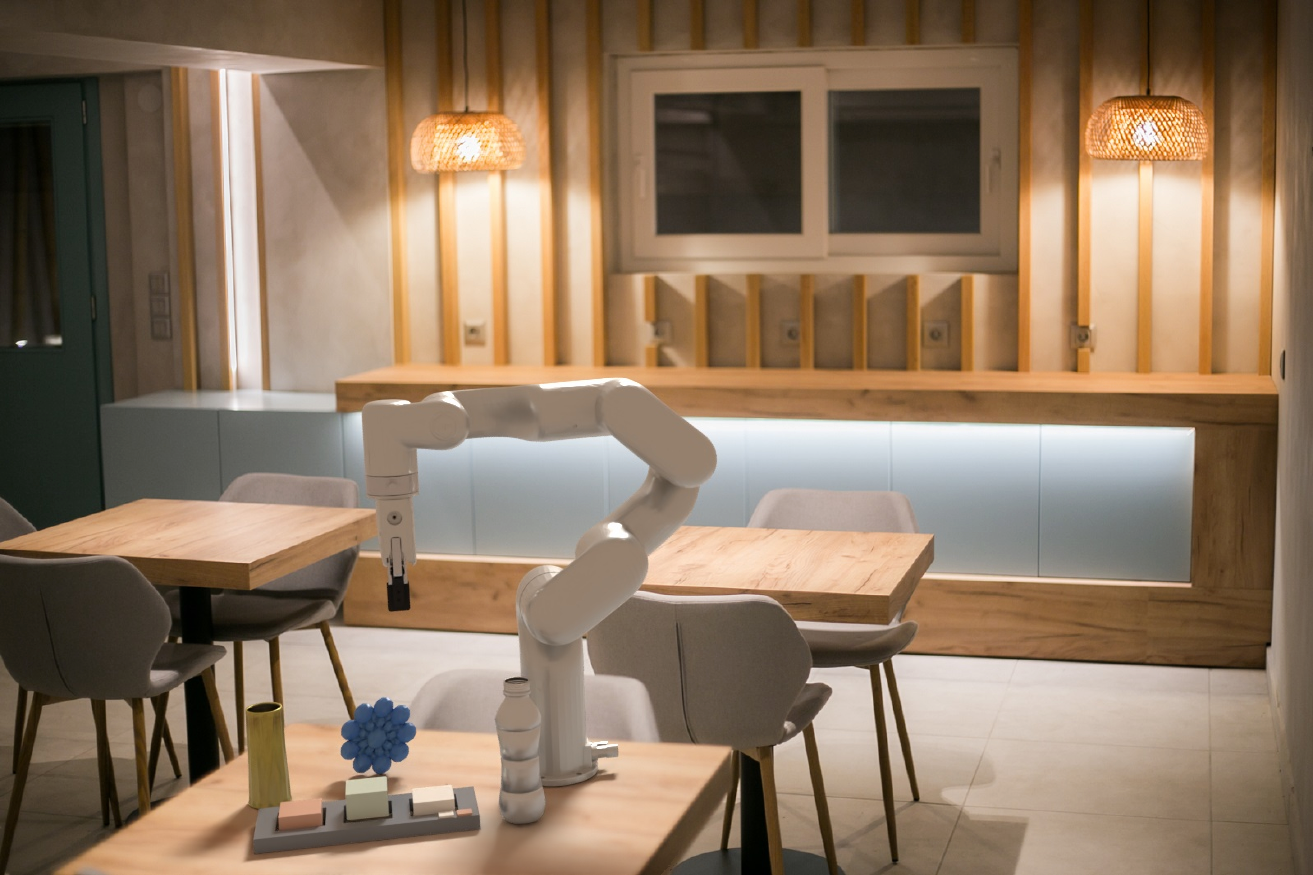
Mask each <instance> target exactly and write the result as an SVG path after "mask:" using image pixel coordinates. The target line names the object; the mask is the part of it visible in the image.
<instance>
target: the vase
mask: <svg viewBox="0 0 1313 875" xmlns="http://www.w3.org/2000/svg"><path fill="white" fill-rule="evenodd" d="M283 709H284V708H283V705H282V703H280V702H275V701H263V702H258V703H253V704H250V705H248V706H247V707H245V729H246V746H247V763H248V765H247V767H248V770H247V773H248V774H247V776H248V805H249V806H250V808H252V809H257V810H259V809H261V808H270V807H280V803H281V802H288V801H293V800H292V799H293V796H292V791H291V783H290V773H289V765H288V758H287V757H288V756H287V755H288V754H287V748H286V738H285V736H286V735H285V726H284V725H285V724H284V721H285V720H284V710H283Z"/></svg>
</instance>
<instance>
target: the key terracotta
mask: <svg viewBox="0 0 1313 875" xmlns="http://www.w3.org/2000/svg"><path fill="white" fill-rule="evenodd" d="M322 802H323V798H322V797H319V798H311V799H310V798H309V799H308V798H307V799H300V800H291V801H288V802H281V803H280V810H279V817H278V819H279V828H278V830H288V829H297V828H306V827H316V826H324V822H325V821H323V807H322Z"/></svg>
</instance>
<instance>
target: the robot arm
mask: <svg viewBox="0 0 1313 875" xmlns="http://www.w3.org/2000/svg"><path fill="white" fill-rule="evenodd" d="M361 429H362V442H363V461H364V462H363V463H364V476H365V477H364V478H365V493H366V494H365V496H366V498H367V499H370V500H375V501H374V502H375V516H376V520H375V521H376V528H377V539H378V546H379V552H380V557H381V562H382V565H383V566H384V567H385V568H387V582H386V596H387V597H386V598H387V611H388V612H391V613H392V612H401V611H402V612H403V611H406V612H407V611H409V610H410V609H411V594H410V582H409V580H408V569H407V568H408V564H411V566H415V565H416V564H417V561H418V560H417V546H416V543H417V542H416V528H415V527H416V526H415V514H414V503H413V502H414V501H413V497H416V496H418V495H420V484H419V469H418V468H419V467H418V465H419V464H418V451H417V450H419V449H420V450H429V451H430V450H431V451H449V450H452V449H455V448H457V447H459V446H461V444H463V443H464V442H465V440H470V439H481V438H483V439H484V438H511V439H512V438H513V439H518V440H523V441H527V442H536V443H537V442H540V443H542V442H543V443H545V442H555V441H564V440H573V439H575V440H576V439H584V438H598V437H609V436H612V437H613V438H614V439H615V440H617V442H619V443H620V444H622V446H624V447H625V448H626V449H627V450H628V451H630V452H631V453H632V454H634V456H636V457H637V458H638V459H640V460H641V461H643V462H644V463H645V464H646V465H647V466H649V467H648V472H647V475H646V477H645V480H644V481H643V483H642V484H641V486H640V487H639V488H638V489H637V490H636V491H635V492H634V493H633V494H632V495H631V496H630V497H628V498H627V499H626V500H625V501H624V502H623V503H622V504H620V505H619V506H618V507H616V508H615V509H614V510H613V511H612V512H610V513H609V514H608V515H607V516H605V517H604V518H602V520H600V521H599V522H597V523H596V524H595V525H593V526H592V527H589V529H588V530H586V531H585V532H584V533H583V534H582V535H581V537H579V539H578V541H577V544H576V546H575V549H574V555H575V559H574V560H572V561H571V562H570V563H569V564H567V565H566V567H563V568H562V567H560V566H557V565H553V564H543V565H539V566H538V565H537V566H536V567H534V568H531V570H529V571H528V572H526V574H525V575H523V577H522V578H521V580H520V581H519V583H518V586H517V590H516V593H515V614H516V615H515V616H516V623H517V632H518V633H517V634H518V635H517V636H518V645H519V646H518V647H519V663H520V666H519V667H520V677H526V678H528V679H529V681H530V689H531V693H530V694H529V697H530V698H531V699H532V701H533V702H534V703H535V704H536V706H537V707H538V709H539V712H540V715H541V727H540V738H539V766H540V774H541V782H542V786H543V787H563V786H568V785H574V784H579V783H582V782H584V781H586V780H588V779H589V780H590V778H593V776H595V775H596V774H597V772H598V770H599V763H598V760H599V759H602V758H604V759H605V758H606V759H607V758H608V759H609V758H610V759H611V758H618V757H619V747H618V743H616V744H615V743H614V744H608V741H606V740H605V741H599V742H592V741H590V740H589V738H588V735H587V716H586V690H585V689H586V687H585V686H586V685H585V660H584V654H585V653H584V643H583V642H584V640H583V636H584V635H585V634H586V633H588V632H590V630H592V629H594V628H595V627H596V626H597V625H598V624H600V623H601V622H602V621H603V620H604V619H606V618H607V617H608V616H610V615H611V614H612V613H613V612H615V611H616V610H617V609H618V608H619V607H621V606H622V605H623V604H624V603H626V602H627V601H628V600H629V599H631V598H632V596H634V595H635V594H636V593H637V591H638V590H639V589H640V588H641V587H642V585H643V584H644V581H645V580H646V577H647V575H648V570H649V557H650V555H651V554H653V553H654V552H655V551H656V550H657V549H659V548H660V547H661V546H662V545H663V544H664V543H665V542H666V541H667V540H669V539H670V537H672V536H673V535H674V534H675V533H676V532H677V531H678V530H680V529H681V528H682V526H683V525H684V524H685V523H686V521H687V520H688V518H689V517H690V515H691V514H692V511H693V510H694V508H695V504H696V502H697V499H698V494H699V493H700V492H699V491H700V487H701V486H702V485H704V484H705V483H706V482H708V481H709V480H710V479H711V478H712V476H713V474H714V473H715V470H716V468H717V463H718V454H717V450H716V448H715V446H714V444H713V443H712V441H711V440H710V438H709V437H708V436H707V435H705V434H704V433H703V432H702V431H701V430H699V429H698V428H696V427H695V426H694V425H692V424H691V423H690V422H689V421H688V420H686V419H685V418H684V417H682V416H681V415H679V414H678V413H677V412H676V411H674V410H673V408H671V407H669V405H667V404H666V403H665V402H663V401H662V400H661V399H660V398H658V397H657V396H656V395H655V394H654V393H653V392H651V391H650V390H649V389H648V388H647V387H646V386H645V385H642V384H641V383H639V382H636V381H635V380H632V379H630V378H625V377H607V378H596V379H595V378H594V379H593V378H592V379H583V380H572V381H571V380H570V381H563V382H559V381H558V382H549V383H536V384H535V383H534V384H522V385H516V386H515V385H514V386H503V387H502V386H501V387H487V388H486V387H484V388H473V389H472V388H471V389H459V390H449V391H441V392H435V393H431V394H429V395H427V396H426V397H424V398H423V399H422V400H421V401H419V402H418V401H417V402H410V401H409V400H407V399H398V398H397V399H394V398H393V399H392V398H391V399H390V398H389V399H380V400H373V401H368V402H366V403H365V404H364V405H363V407H362V410H361Z"/></svg>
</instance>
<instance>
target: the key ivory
mask: <svg viewBox="0 0 1313 875" xmlns="http://www.w3.org/2000/svg"><path fill="white" fill-rule="evenodd" d="M411 793H412V799H413V812H412V813H413V814H412V816H418V815H427V814H437V813H438V812H443V811H453V812H455V811H456V807H455V801H454V794H453V784H446V785H445V784H444V785H436V786H426V787H425V786H424V787H417V788H415V787H414V788H411Z"/></svg>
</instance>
